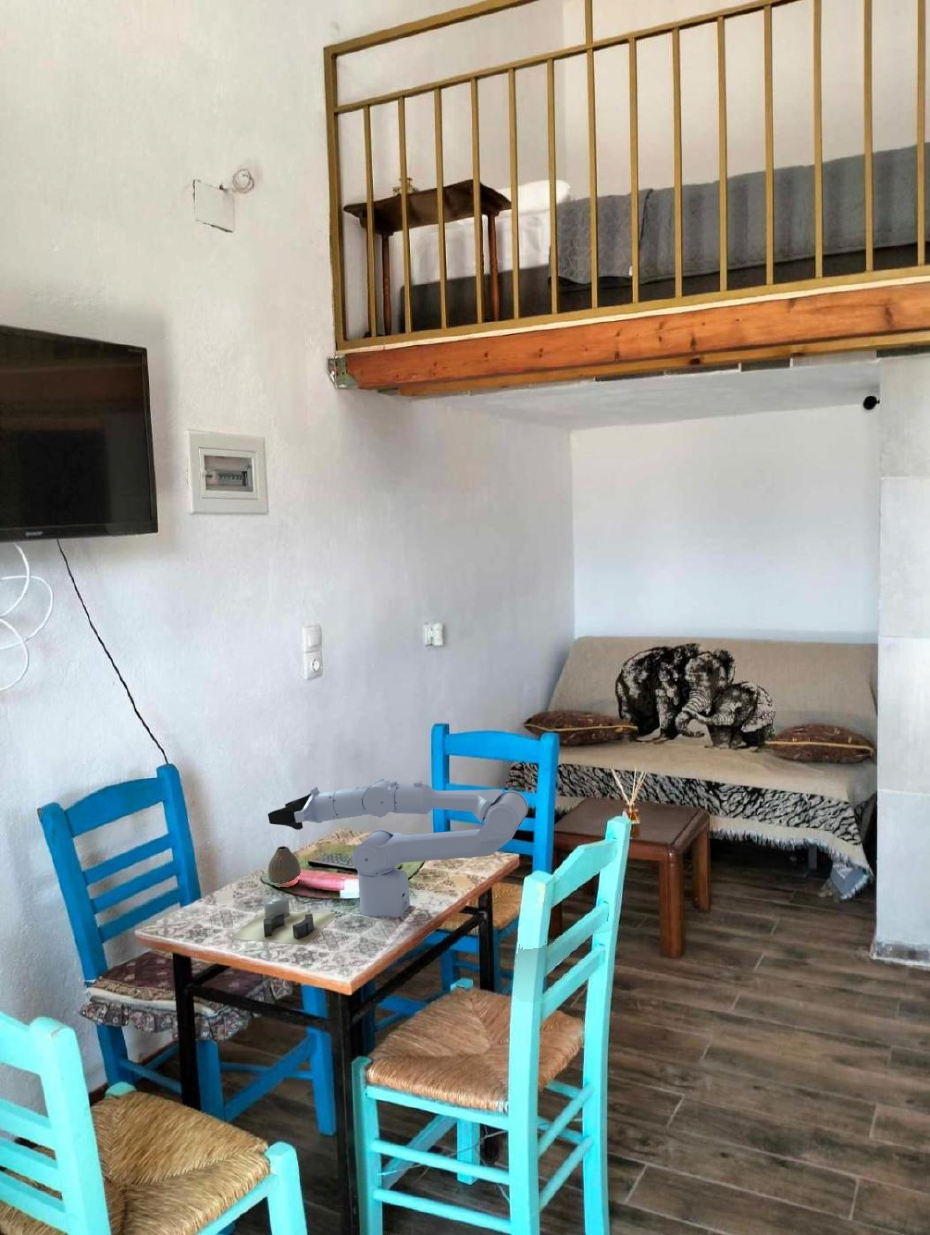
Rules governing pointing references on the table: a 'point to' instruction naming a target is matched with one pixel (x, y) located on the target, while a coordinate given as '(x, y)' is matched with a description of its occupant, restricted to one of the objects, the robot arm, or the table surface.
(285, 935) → the board
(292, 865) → the vase
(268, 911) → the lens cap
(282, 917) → the split dark grey block
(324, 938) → the table surface
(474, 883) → the table surface
